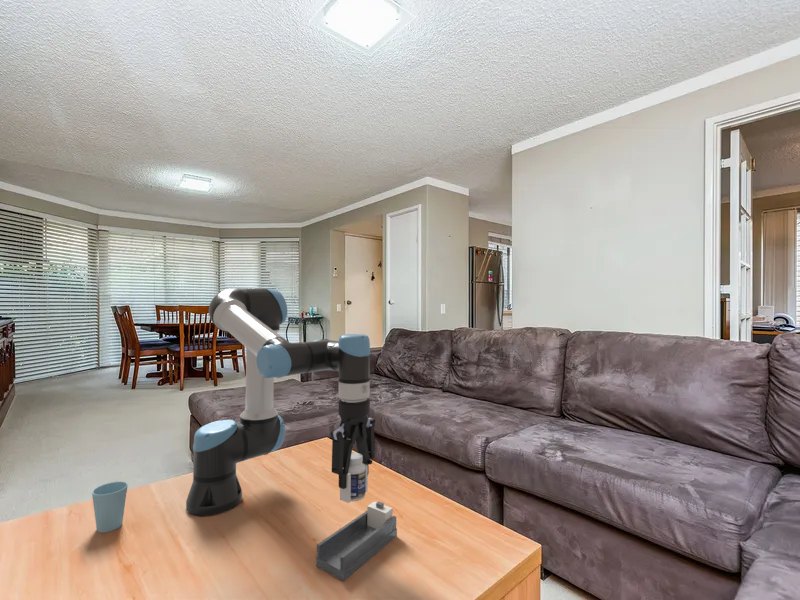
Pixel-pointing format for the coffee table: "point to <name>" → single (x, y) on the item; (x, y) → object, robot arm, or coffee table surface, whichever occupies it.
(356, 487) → the pill bottle
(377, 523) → the mounted module
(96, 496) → the cup
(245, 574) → the coffee table surface
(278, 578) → the coffee table surface
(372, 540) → the rail
